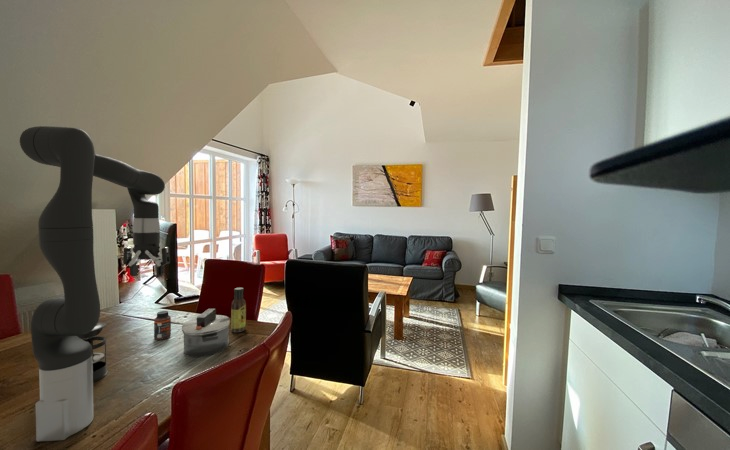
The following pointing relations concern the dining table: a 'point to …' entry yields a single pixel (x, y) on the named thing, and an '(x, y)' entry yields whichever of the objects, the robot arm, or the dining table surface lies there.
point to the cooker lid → (206, 323)
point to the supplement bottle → (162, 326)
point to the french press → (98, 365)
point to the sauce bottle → (238, 311)
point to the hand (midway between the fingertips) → (147, 276)
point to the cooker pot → (206, 343)
